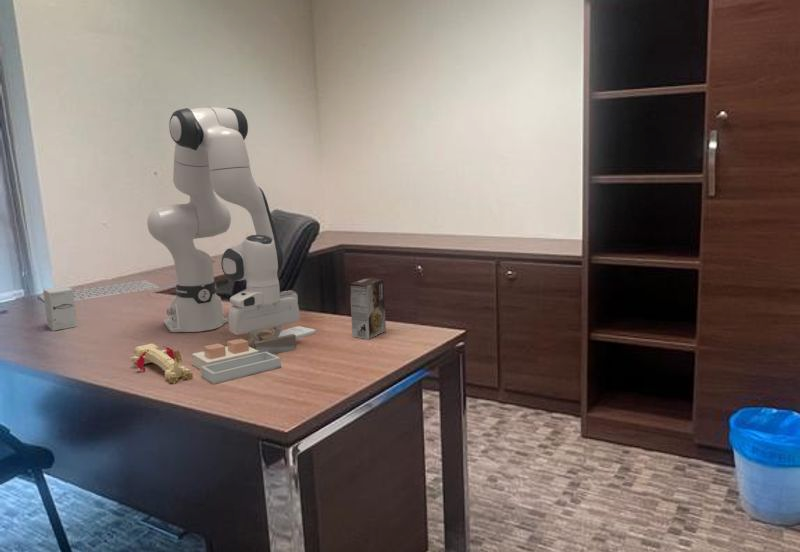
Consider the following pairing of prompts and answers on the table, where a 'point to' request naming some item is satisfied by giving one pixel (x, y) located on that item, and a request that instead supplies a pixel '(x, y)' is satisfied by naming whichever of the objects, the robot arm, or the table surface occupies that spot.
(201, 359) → the board
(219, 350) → the tile
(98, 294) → the computer keyboard
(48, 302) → the supplement box
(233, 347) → the tile
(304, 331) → the external hard drive
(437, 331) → the table surface
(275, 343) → the scraper
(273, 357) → the tray
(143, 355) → the beige long curved piece
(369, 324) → the coffee box
